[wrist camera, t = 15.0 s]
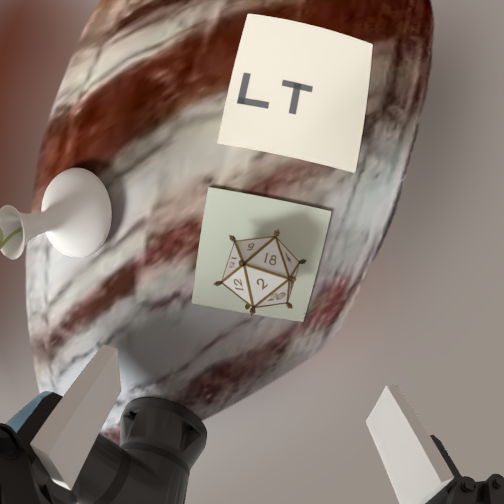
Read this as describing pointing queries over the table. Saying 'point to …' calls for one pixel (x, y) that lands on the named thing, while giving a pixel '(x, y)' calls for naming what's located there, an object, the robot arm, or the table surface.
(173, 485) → the robot arm
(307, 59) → the card
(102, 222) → the flower in vase
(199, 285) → the sage mat
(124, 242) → the table surface
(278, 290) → the game die
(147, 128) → the table surface
